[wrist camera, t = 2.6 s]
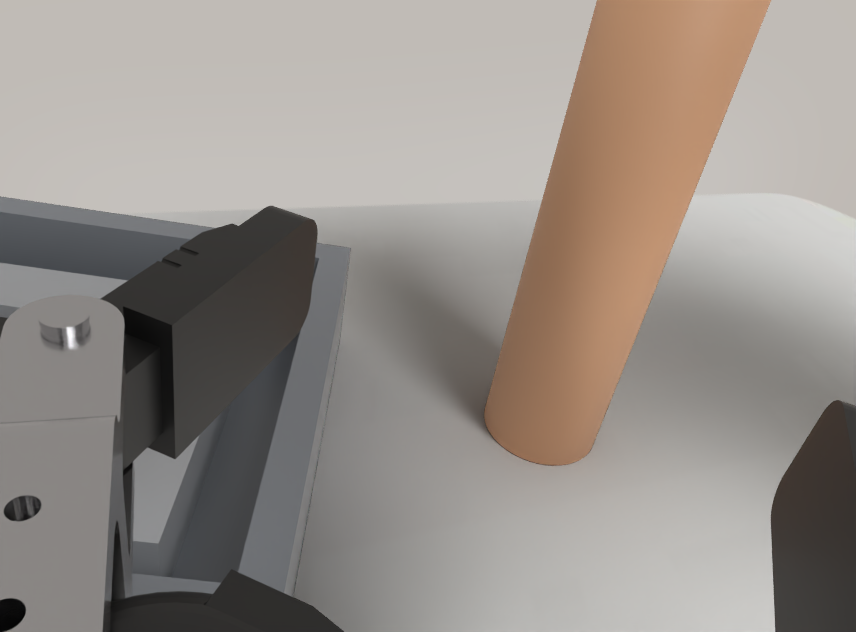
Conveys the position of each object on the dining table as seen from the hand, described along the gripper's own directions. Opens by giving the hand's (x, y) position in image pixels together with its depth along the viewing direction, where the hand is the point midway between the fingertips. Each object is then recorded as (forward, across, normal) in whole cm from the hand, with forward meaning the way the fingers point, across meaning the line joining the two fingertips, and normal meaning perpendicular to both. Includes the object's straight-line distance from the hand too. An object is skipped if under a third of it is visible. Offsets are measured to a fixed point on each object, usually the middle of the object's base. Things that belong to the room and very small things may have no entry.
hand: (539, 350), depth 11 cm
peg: (+11, 0, +11) cm, 16 cm away
